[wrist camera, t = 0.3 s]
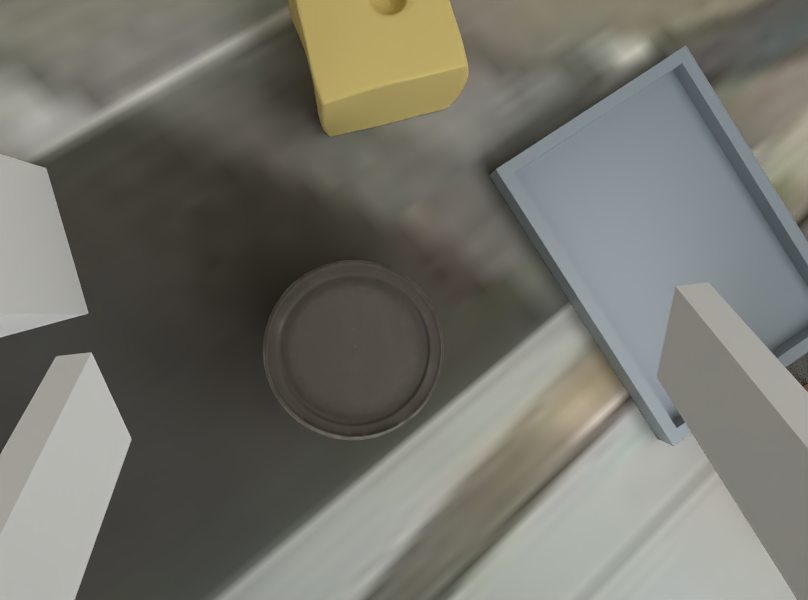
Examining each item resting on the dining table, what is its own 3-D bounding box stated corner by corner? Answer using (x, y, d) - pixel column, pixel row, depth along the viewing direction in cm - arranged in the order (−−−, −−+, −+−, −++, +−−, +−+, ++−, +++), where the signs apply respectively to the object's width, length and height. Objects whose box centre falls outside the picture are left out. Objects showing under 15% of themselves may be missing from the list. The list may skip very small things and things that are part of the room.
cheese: (290, 17, 49) (274, -54, 39) (422, -13, 50) (438, -90, 40) (325, 146, 50) (317, 108, 40) (455, 114, 50) (480, 68, 40)
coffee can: (268, 300, 49) (233, 301, 35) (390, 250, 50) (403, 232, 36) (319, 421, 50) (304, 469, 36) (439, 370, 50) (471, 398, 36)
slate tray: (831, 317, 53) (855, 318, 50) (658, 438, 52) (673, 446, 49) (670, 57, 52) (685, 45, 49) (489, 175, 50) (495, 169, 48)
